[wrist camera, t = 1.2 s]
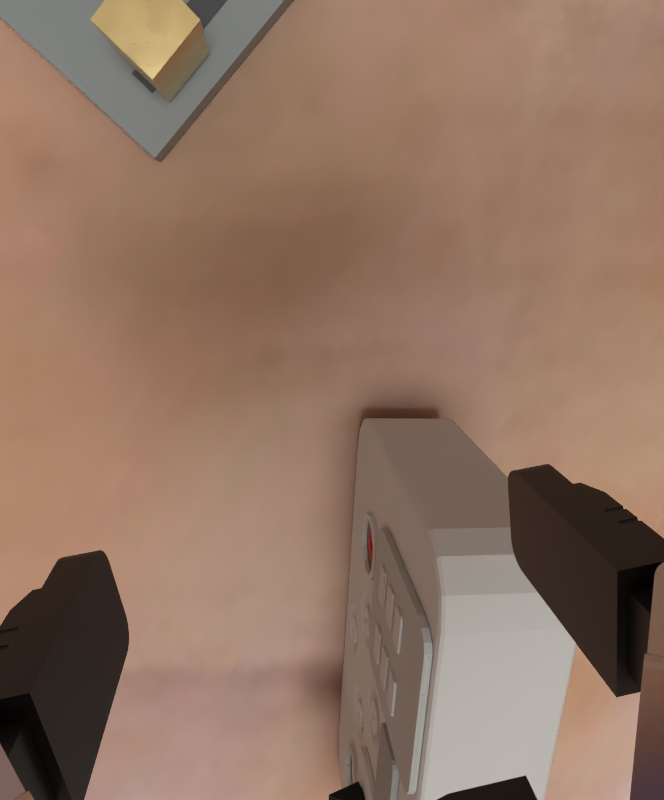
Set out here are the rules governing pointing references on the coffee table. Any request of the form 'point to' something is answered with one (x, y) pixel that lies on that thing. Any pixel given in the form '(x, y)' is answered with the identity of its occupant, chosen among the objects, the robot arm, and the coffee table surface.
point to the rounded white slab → (442, 626)
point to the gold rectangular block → (155, 39)
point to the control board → (120, 83)
